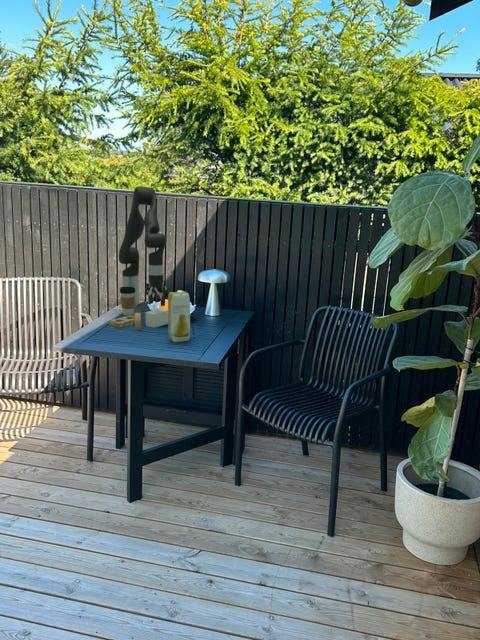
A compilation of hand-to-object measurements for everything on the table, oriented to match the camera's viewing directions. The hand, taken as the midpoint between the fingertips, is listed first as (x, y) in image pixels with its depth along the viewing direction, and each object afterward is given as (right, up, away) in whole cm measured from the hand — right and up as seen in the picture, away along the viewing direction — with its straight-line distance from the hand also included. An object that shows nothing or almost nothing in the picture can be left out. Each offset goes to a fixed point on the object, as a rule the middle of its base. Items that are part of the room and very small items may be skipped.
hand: (156, 304), depth 294 cm
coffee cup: (-19, -5, +22) cm, 30 cm away
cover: (0, -10, +3) cm, 11 cm away
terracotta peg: (-9, -12, -6) cm, 16 cm away
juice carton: (+14, -17, -22) cm, 31 cm away
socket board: (-17, -10, +3) cm, 20 cm away
